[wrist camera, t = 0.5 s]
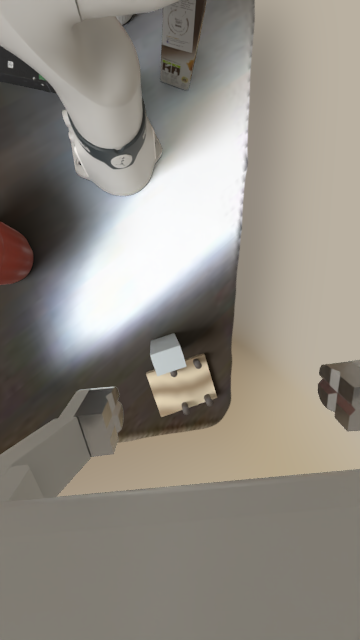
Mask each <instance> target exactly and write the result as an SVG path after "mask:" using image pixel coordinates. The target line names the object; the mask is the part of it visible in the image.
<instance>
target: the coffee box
mask: <svg viewBox="0 0 360 640" xmlns="http://www.w3.org/2000/svg"><path fill="white" fill-rule="evenodd" d="M206 1H207V0H179V1H177V2H175V3H173V4H170V5H168V6H166V7H163V24H162V50H161V76H160V80H161V82H164V83H167V84H170V85H172V86H175V87H178V88H181V89H184V90H188V89H189V85H190V80H191V76H192V71H193V67H194V62H195V58H196V53H197V48H198V43H199V38H200V33H201V28H202V22H203V17H204V12H205V6H206Z"/></svg>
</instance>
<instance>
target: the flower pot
mask: <svg viewBox="0 0 360 640" xmlns="http://www.w3.org/2000/svg"><path fill="white" fill-rule="evenodd" d="M32 265H33V252H32V249H31V247H30V245H29V244H28V242H27V239H26V238H25V237H24V236H23V235H22V234H21V233H19V232H18V231H16V230H15V229H13V228H11V227H9V226H8V225H6V224H4V223H2V222H0V285H4V284H12V283H15V282H17V281H20V280H22V279H23V278H25V277H26V276H27V275H28V273H29V272H30V270H31V268H32Z"/></svg>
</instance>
